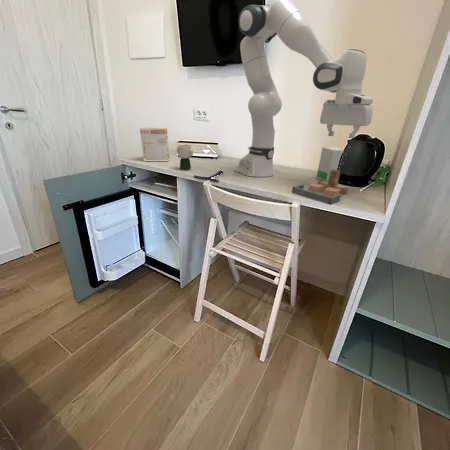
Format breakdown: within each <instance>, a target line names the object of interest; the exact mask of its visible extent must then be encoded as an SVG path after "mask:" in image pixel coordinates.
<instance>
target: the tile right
mask: <svg viewBox="0 0 450 450" xmlns="http://www.w3.org/2000/svg"><path fill="white" fill-rule="evenodd" d="M339 191H340V189H336V188H332V187H328V188H326V189H324V191H323V192H322V193H323V194H322V195H325V196H329V197H332V196H335V195H338V194H339Z"/></svg>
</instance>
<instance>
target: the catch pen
mask: <svg viewBox="0 0 450 450" xmlns="http://www.w3.org/2000/svg"><path fill="white" fill-rule="evenodd" d="M304 187H305V184H303V183H301V184H299V185H294V186H292V190H291V193H292V194H295V195H299V196H301V197H305V198H309V199H312V200H315V201H318V202H321V203H324V204H328V205H332V204H335V203H338V202H340V201H341V196H342V194H338V195H335V196H332V197H329V196H325V195H323V194H321V193H319V194H318V193H315V192H311V191H309V189H308V190H307V189H304Z"/></svg>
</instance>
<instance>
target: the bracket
mask: <svg viewBox="0 0 450 450" xmlns="http://www.w3.org/2000/svg"><path fill="white" fill-rule="evenodd" d="M221 173H222V175H224V172H223V170H220V169H219V170H218V171H217V172H216V173H214V174H213V175H209V176H210V177H206V176H202V175H201V176H200V175H195V174H194V175H193V179H198V180H203V181H207V180H210V181H209V182H213V183H219V182H220V180H219V179H216V178H215V179H211V177H214V176H217V175H219V176H221V175H220V174H221ZM217 177H218V176H217ZM218 181H219V182H218Z"/></svg>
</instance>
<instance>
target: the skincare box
mask: <svg viewBox="0 0 450 450" xmlns="http://www.w3.org/2000/svg"><path fill="white" fill-rule="evenodd" d="M342 153H343V154H344V149H341V148H339V147H335V146H322V149H321V153H320V158H319V162H318V168H317V171H316V178H317V179H319V180H320V181H325V182H328V181H329V176H330V171H331V170H337V168H338V164H339V160H340V157H341V155H342ZM342 156H343V155H342Z"/></svg>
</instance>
